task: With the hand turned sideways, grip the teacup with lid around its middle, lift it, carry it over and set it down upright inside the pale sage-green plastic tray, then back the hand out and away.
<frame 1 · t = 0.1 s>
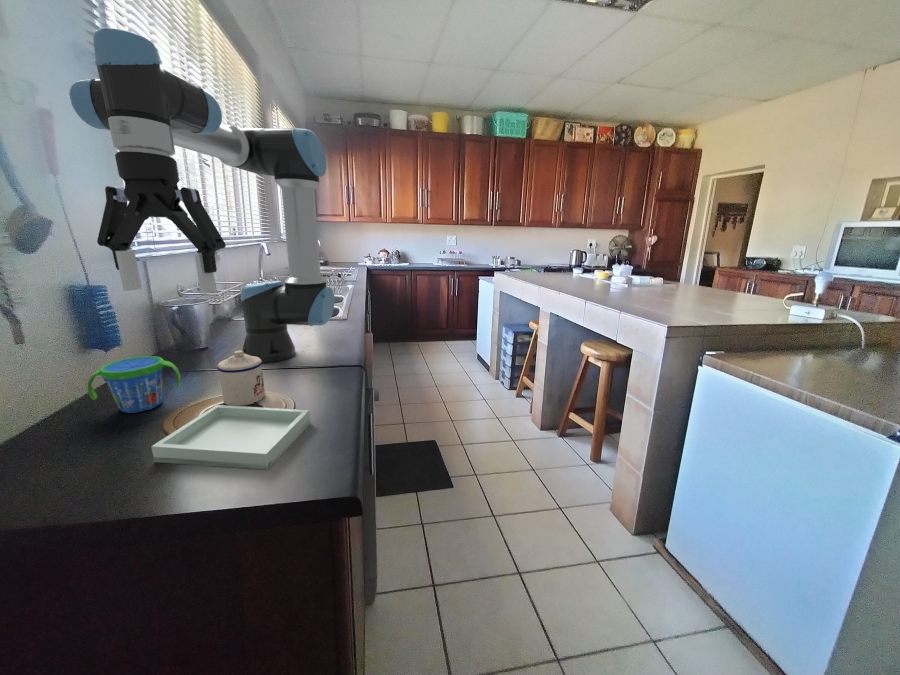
hand: (170, 291, 64), 28 cm above the countertop, tool pointing down, fingers open, 13 cm apart
teacup with lid: (245, 397, 90), on the countertop
sage tray: (240, 440, 70), on the countertop
snack cup: (142, 407, 83), on the countertop
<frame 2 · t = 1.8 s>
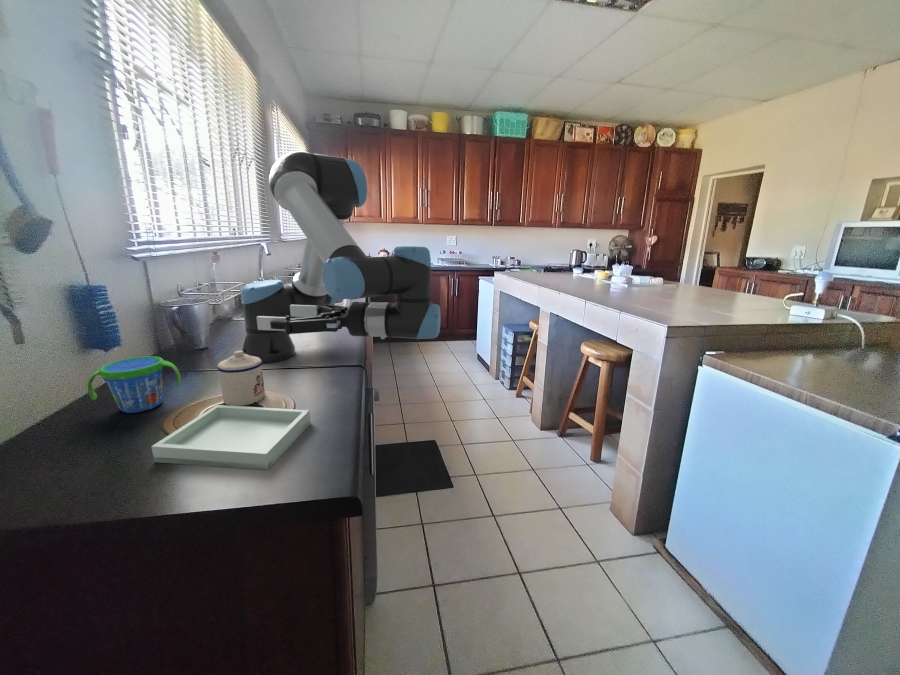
hand: (275, 316, 84), 20 cm above the countertop, tool horizontal, fingers open, 13 cm apart
nothing on the countertop moved.
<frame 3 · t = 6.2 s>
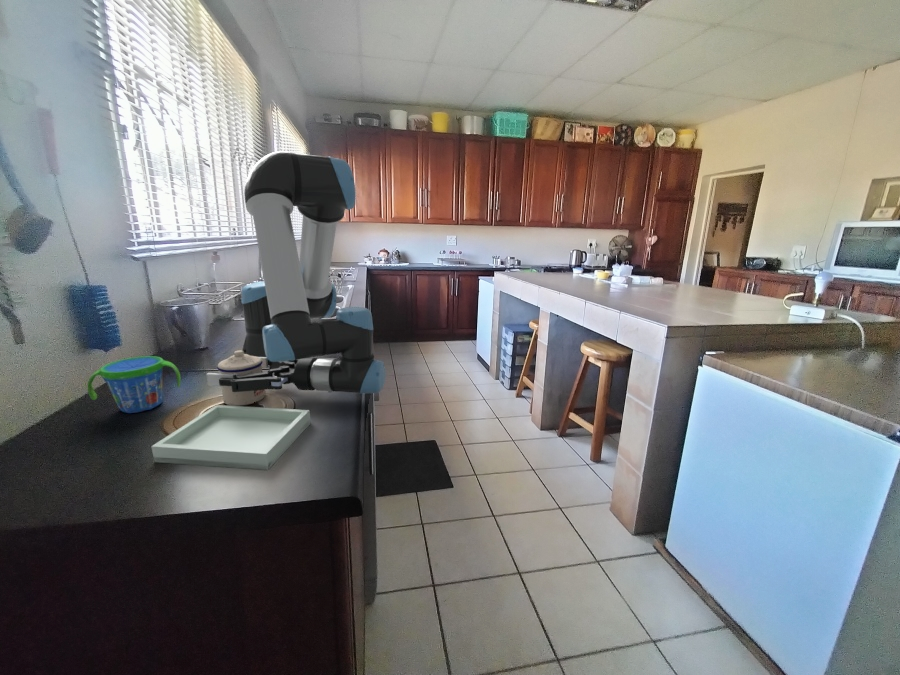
hand: (226, 369, 88), 6 cm above the countertop, tool horizontal, fingers closed on teacup with lid, 11 cm apart
teacup with lid: (245, 396, 90), on the countertop, touching gripper
everything else where it was.
when the fingers open (9 cm above the countertop, at t = 11.6 s): teacup with lid drops 1 cm, resting on sage tray.
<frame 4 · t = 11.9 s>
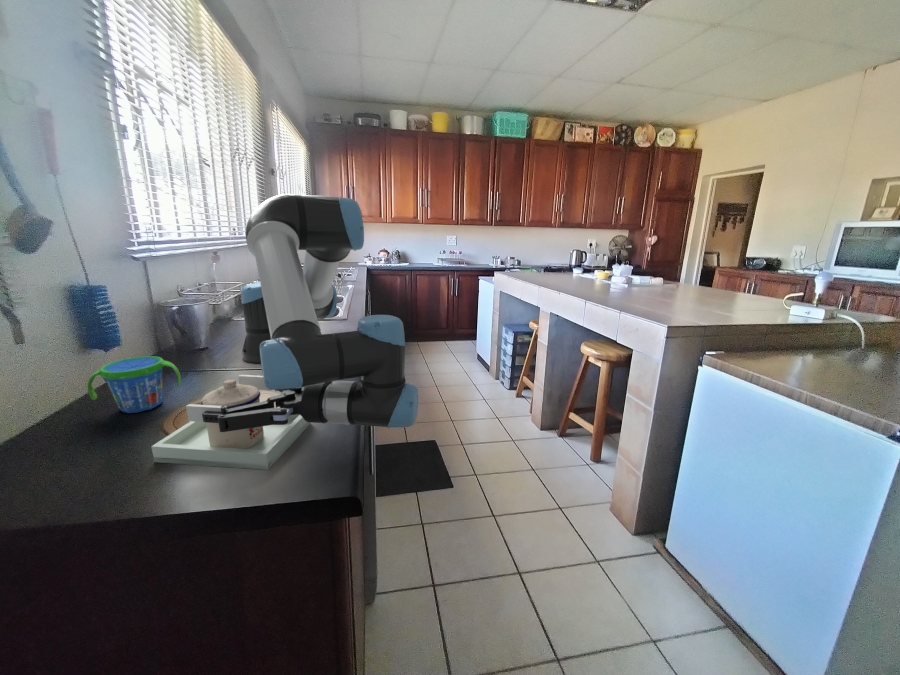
hand: (216, 395, 68), 9 cm above the countertop, tool horizontal, fingers open, 13 cm apart
teacup with lid: (239, 437, 70), point 1 cm above the countertop, touching sage tray
everything else where it was.
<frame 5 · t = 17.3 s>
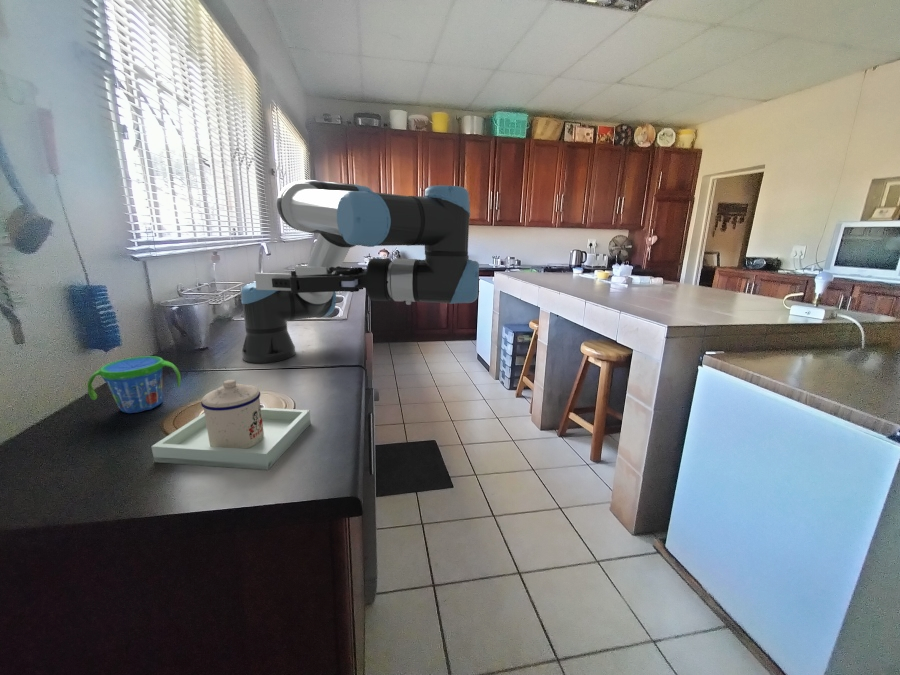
hand: (278, 276, 69), 30 cm above the countertop, tool horizontal, fingers open, 13 cm apart
nothing on the countertop moved.
at the end: teacup with lid inside the target area on the sage tray (0.2 cm from its centre), point 0.8 cm above the sage tray's base; teacup with lid tilted 0°; the gripper is holding nothing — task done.
